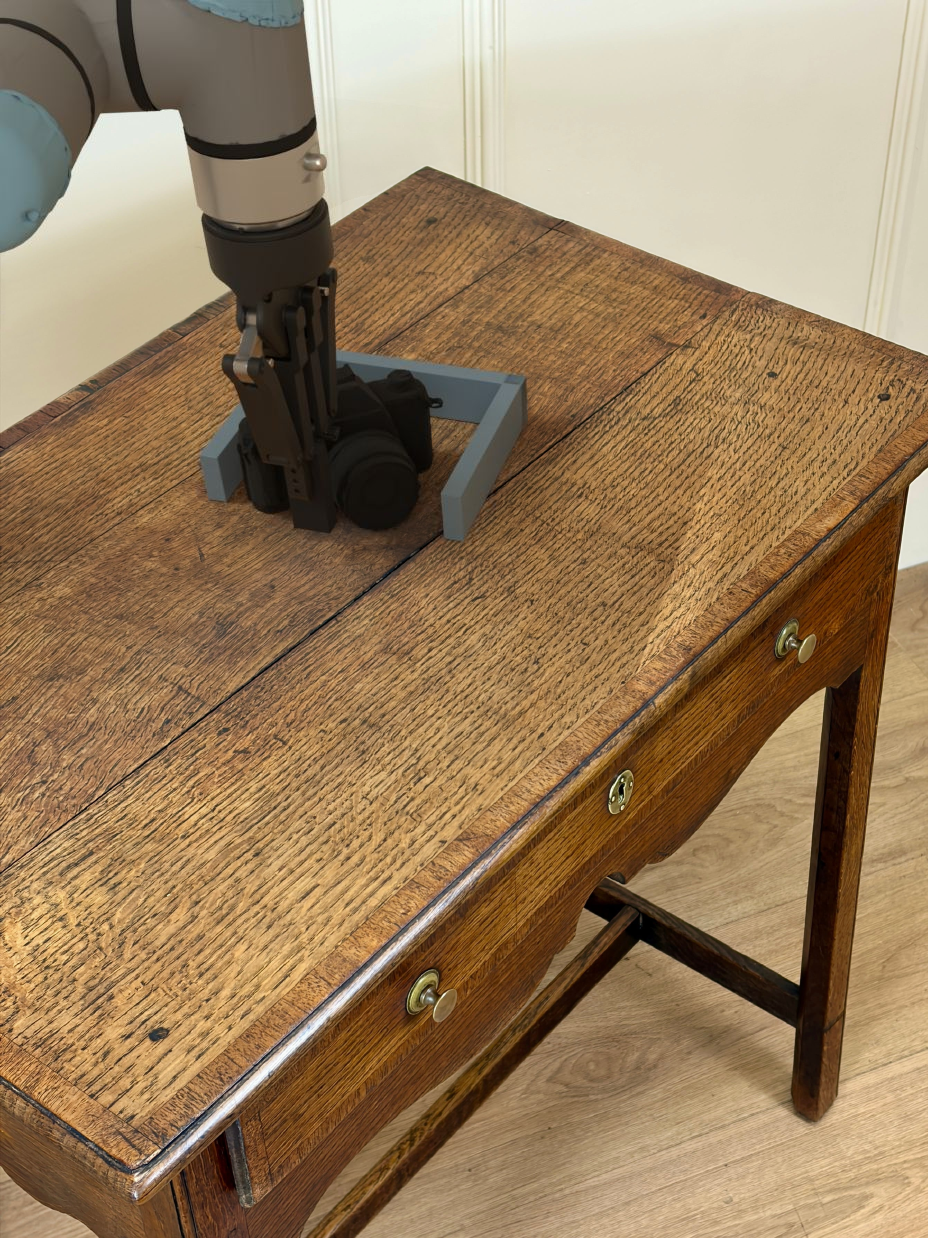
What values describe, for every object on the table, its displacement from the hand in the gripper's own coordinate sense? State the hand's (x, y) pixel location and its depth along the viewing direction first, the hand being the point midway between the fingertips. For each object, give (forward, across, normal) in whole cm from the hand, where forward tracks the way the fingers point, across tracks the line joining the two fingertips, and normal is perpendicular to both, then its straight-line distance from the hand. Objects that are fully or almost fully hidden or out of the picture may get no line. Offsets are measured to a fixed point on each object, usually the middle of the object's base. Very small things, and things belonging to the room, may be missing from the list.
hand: (315, 524), depth 103 cm
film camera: (+2, +6, 0) cm, 7 cm away
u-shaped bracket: (+2, +11, 0) cm, 11 cm away
